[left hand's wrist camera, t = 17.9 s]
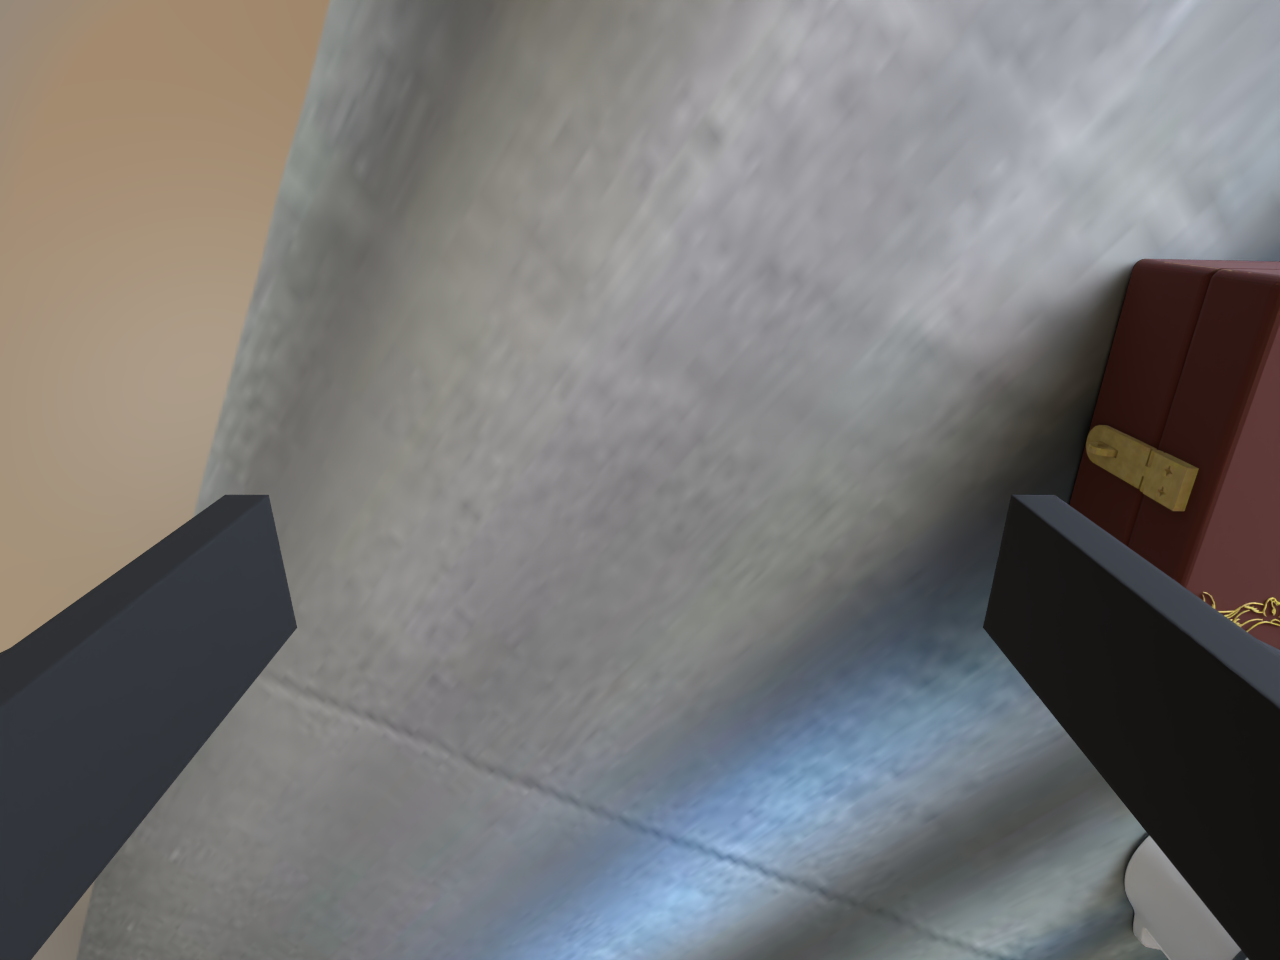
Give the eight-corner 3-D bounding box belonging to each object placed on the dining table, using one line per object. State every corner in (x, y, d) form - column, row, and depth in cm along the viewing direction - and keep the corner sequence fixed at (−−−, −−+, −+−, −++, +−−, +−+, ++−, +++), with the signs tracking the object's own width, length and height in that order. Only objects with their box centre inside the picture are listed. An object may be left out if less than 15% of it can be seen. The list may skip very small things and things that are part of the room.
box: (1110, 258, 40) (1254, 276, 30) (1400, 263, 40) (1633, 283, 30) (1027, 582, 47) (1121, 675, 38) (1269, 586, 47) (1423, 680, 38)
